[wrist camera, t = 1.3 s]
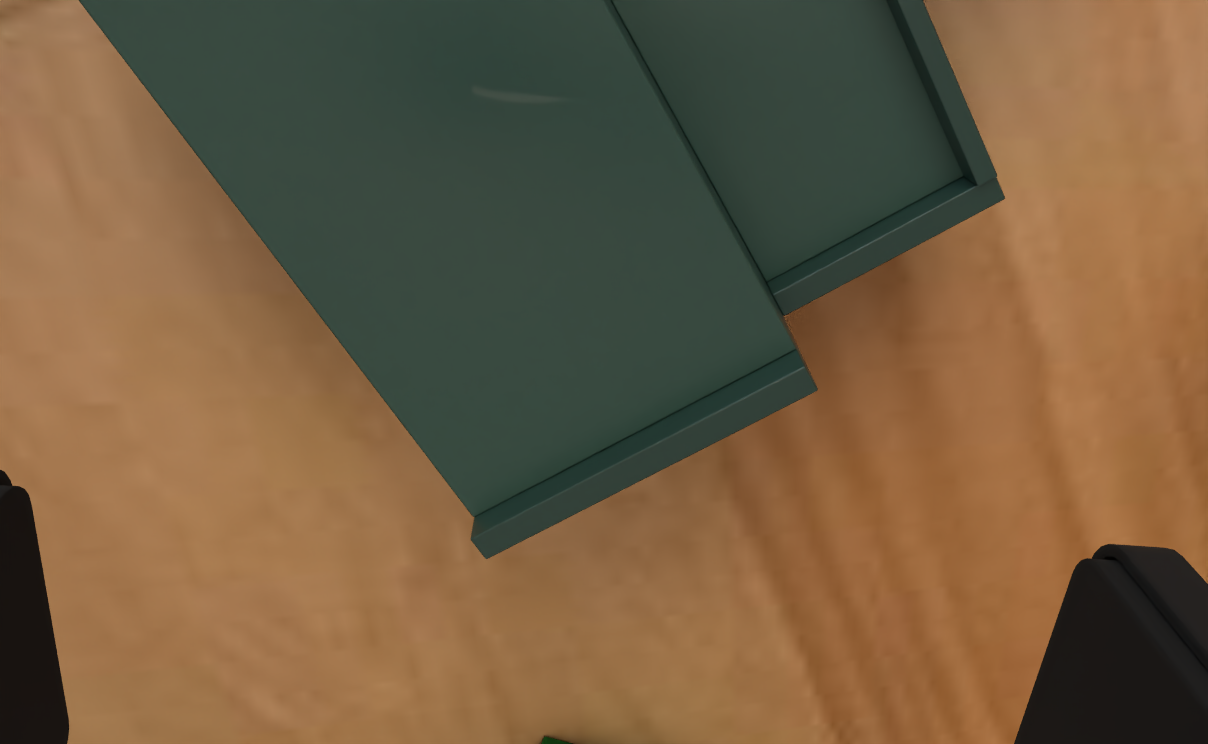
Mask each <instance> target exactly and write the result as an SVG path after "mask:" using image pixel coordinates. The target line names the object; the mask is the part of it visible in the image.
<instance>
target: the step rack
mask: <svg viewBox="0 0 1208 744" xmlns="http://www.w3.org/2000/svg"><path fill="white" fill-rule="evenodd" d="M79 1H80V3H81V4H82V5H83V7H84V8H85V9H86V10H87V12H88V13H89V14H90V16H91V17H92V18H93V20H94V21H95V22H96V24H97V25H98V26H99V28H100V29H101V30H102V31H103V33H104V34H105V35H106V37H107V38H108V39H109V41H110V42H111V43H112V45H113V46H114V47H115V48H116V50H117V51H118V52H119V54H120V55H121V56H122V58H123V59H124V60H125V62H126V63H127V64H128V65H129V67H130V68H131V69H132V71H133V72H134V73H135V75H136V76H137V77H138V79H139V80H140V81H141V83H142V84H143V85H144V86H145V88H146V89H147V90H148V92H149V93H150V94H151V96H152V97H153V98H154V100H155V101H156V102H157V103H158V105H159V106H160V107H161V109H162V110H163V111H164V113H165V114H166V115H167V117H168V118H169V119H170V121H171V122H172V123H173V124H174V126H175V127H176V128H177V130H178V131H179V132H180V134H181V135H182V136H183V138H184V139H185V140H186V141H187V143H188V144H189V145H190V147H191V148H192V149H193V151H194V152H195V153H196V155H197V156H198V157H199V158H200V160H201V161H202V162H203V164H204V165H205V166H206V168H207V169H208V170H209V172H210V173H211V174H212V176H213V177H214V178H215V179H216V181H217V182H218V183H219V185H220V186H221V187H222V189H223V190H224V191H225V193H226V194H227V195H228V196H229V198H230V199H231V200H232V202H233V203H234V204H235V206H236V207H237V208H238V210H239V211H240V212H241V213H242V215H243V216H244V217H245V219H246V220H247V221H248V223H249V224H250V225H251V227H252V228H253V229H254V231H255V232H256V233H257V234H258V236H259V237H260V238H261V240H262V241H263V242H264V244H265V245H266V246H267V248H268V249H269V250H270V251H271V253H272V254H273V255H274V257H275V258H276V259H277V261H278V262H279V263H280V265H281V266H282V267H283V269H284V270H285V271H286V272H287V274H288V275H289V276H290V278H291V279H292V280H293V282H294V283H295V284H296V286H297V287H298V288H299V289H300V291H301V292H302V293H303V295H304V296H305V297H306V299H307V300H308V301H309V303H310V304H311V305H312V306H313V308H314V309H315V310H316V312H317V313H318V314H319V316H320V317H321V318H322V320H323V321H324V322H325V324H326V325H327V326H328V327H329V329H330V330H331V331H332V333H333V334H334V335H335V337H336V338H337V339H338V341H339V342H340V343H341V344H342V346H343V347H344V348H345V350H346V351H347V352H348V354H349V355H350V356H351V358H352V359H353V360H354V362H355V363H356V364H357V365H358V367H359V368H360V369H361V371H362V372H363V373H364V375H365V376H366V377H367V379H368V380H369V381H370V382H371V384H372V385H373V386H374V388H375V389H376V390H377V392H378V393H379V394H380V396H381V397H382V398H383V399H384V401H385V402H386V403H387V405H388V406H389V407H390V409H391V410H392V411H393V413H394V414H395V415H396V417H397V418H398V419H399V420H400V422H401V423H402V424H403V426H404V427H405V428H406V430H407V431H408V432H409V434H410V435H411V436H412V437H413V439H414V440H415V441H416V443H417V444H418V445H419V447H420V448H421V449H422V451H423V452H424V453H425V454H426V456H427V457H428V458H429V460H430V461H431V462H432V464H433V465H434V466H435V468H436V469H437V470H438V472H439V473H440V474H441V475H442V477H443V478H444V479H445V481H446V482H447V483H448V485H449V486H450V487H451V489H452V490H453V491H454V492H455V494H456V495H457V496H458V498H459V499H460V500H461V502H462V503H463V504H464V506H465V507H466V508H467V510H468V511H469V512H470V513H471V515H472V516H473V517H474V522H473V528H472V533H471V541H472V542H473V543H474V544H475V546H476V547H477V548H478V550H479V551H480V552H481V553H482V555H483V556H484V557H485V558H486V559H488V558H490V557H492V556H494V555H496V554H498V553H500V552H502V551H504V550H506V549H508V548H510V547H511V546H513V545H515V544H517V543H519V542H521V541H523V540H525V539H527V538H529V537H531V536H533V535H535V534H537V533H539V532H541V531H543V530H545V529H547V528H549V527H551V526H553V525H555V524H557V523H559V522H561V521H562V520H564V519H566V518H568V517H570V516H572V515H574V514H576V513H578V512H580V511H582V510H584V509H586V508H588V507H590V506H592V505H594V504H596V503H598V502H600V501H602V500H604V499H606V498H608V497H610V496H612V495H613V494H615V493H617V492H619V491H621V490H623V489H625V488H627V487H629V486H631V485H633V484H635V483H637V482H639V481H641V480H643V479H645V478H647V477H649V476H651V475H653V474H655V473H657V472H659V471H661V470H662V469H664V468H666V467H668V466H670V465H672V464H674V463H676V462H678V461H680V460H682V459H684V458H686V457H688V456H690V455H692V454H694V453H696V452H698V451H700V450H702V449H704V448H706V447H708V446H710V445H712V444H713V443H715V442H717V441H719V440H721V439H723V438H725V437H727V436H729V435H731V434H733V433H735V432H737V431H739V430H741V429H743V428H745V427H747V426H749V425H751V424H753V423H755V422H757V421H759V420H761V419H763V418H764V417H766V416H768V415H770V414H772V413H774V412H776V411H778V410H780V409H782V408H784V407H786V406H788V405H790V404H792V403H794V402H796V401H798V400H800V399H802V398H804V397H806V396H808V395H810V394H812V393H814V392H815V391H817V390H818V388H817V386H816V384H815V382H814V380H813V378H812V375H811V373H810V371H809V369H808V367H807V365H806V363H805V361H804V359H803V356H802V354H801V352H800V350H799V348H798V346H797V344H796V342H795V340H794V337H793V335H792V333H791V331H790V329H789V327H788V325H787V323H786V321H785V319H784V316H783V315H787V314H789V313H791V312H792V311H794V310H796V309H798V308H800V307H802V306H804V305H806V304H808V303H809V302H811V301H813V300H815V299H817V298H819V297H821V296H823V295H825V294H826V293H828V292H830V291H832V290H834V289H836V288H838V287H840V286H841V285H843V284H845V283H847V282H849V281H851V280H853V279H855V278H857V277H858V276H860V275H862V274H864V273H866V272H868V271H870V270H872V269H874V268H875V267H877V266H879V265H881V264H883V263H885V262H887V261H889V260H891V259H892V258H894V257H896V256H898V255H900V254H902V253H904V252H906V251H908V250H909V249H911V248H913V247H915V246H917V245H919V244H921V243H923V242H925V241H926V240H928V239H930V238H932V237H934V236H936V235H938V234H940V233H941V232H943V231H945V230H947V229H949V228H951V227H953V226H955V225H957V224H958V223H960V222H962V221H964V220H966V219H968V218H970V217H972V216H974V215H975V214H977V213H979V212H981V211H983V210H985V209H987V208H989V207H991V206H992V205H994V204H996V203H998V202H1000V201H1002V200H1004V199H1005V196H1004V194H1003V192H1002V189H1001V187H1000V185H999V182H998V180H997V178H996V177H997V173H996V171H995V169H994V166H993V164H992V162H991V159H990V157H989V155H988V152H987V150H986V148H985V145H984V143H983V140H982V138H981V136H980V133H979V131H978V129H977V126H976V124H975V122H974V119H973V117H972V115H971V112H970V110H969V108H968V105H967V103H966V101H965V98H964V96H963V94H962V91H961V89H960V86H959V84H958V82H957V79H956V77H955V75H954V72H953V70H952V68H951V65H950V63H949V61H948V58H947V56H946V54H945V51H944V49H943V47H942V44H941V42H940V40H939V37H938V35H937V32H936V30H935V28H934V25H933V23H932V21H931V18H930V16H929V14H928V11H927V9H926V7H925V4H924V2H923V0H79Z"/></svg>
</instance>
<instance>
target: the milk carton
mask: <svg viewBox="0 0 1208 744" xmlns="http://www.w3.org/2000/svg"><path fill="white" fill-rule="evenodd" d="M541 744H572V743H568V742H564V741H561V740H557V739H553V738H549V737H544V738H543V740H542V743H541Z"/></svg>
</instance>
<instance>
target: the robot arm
mask: <svg viewBox="0 0 1208 744" xmlns="http://www.w3.org/2000/svg"><path fill="white" fill-rule="evenodd" d="M68 734H69V719H68V713H67V707H66V701H65V696H64V690H63V684H62V678H61V673H60V667H59V661H58V655H57V649H56V644H55V638H54V632H53V626H52V620H51V615H50V609H49V603H48V597H47V591H46V586H45V580H44V574H43V568H42V563H41V557H40V551H39V545H38V539H37V534H36V528H35V522H34V516H33V510H32V505H31V501H30V497H29V495H28V493H27V492H26V490H25V489H23V488H22V487H20V486H12V484H11V480H10V479H9V477H8V476H7V474H6V473H5V472H4V471H2V470H0V744H67V741H68ZM1014 744H1208V584H1207V583H1206V582H1205V581H1204V579H1203V578H1202V577H1201V576H1200V575H1199V574H1198V573H1197V572H1196V571H1195V570H1194V568H1193V567H1192V566H1191V565H1190V564H1189V563H1188V562H1187V561H1186V560H1185V559H1184V557H1183V556H1181V555H1180V554H1179V553H1178V552H1176V551H1175V550H1172V549H1168V548H1159V547H1145V546H1130V545H1116V544H1107V545H1104V546H1102V547H1100V548H1099V549H1098V550H1097V551H1096V552H1095V553H1094V555H1093V557H1092V559H1088V558H1087V559H1084V560H1081V561H1080V562H1079V563H1078V564H1077V565H1076V567H1075V569H1074V571H1073V574H1072V576H1071V579H1070V582H1069V585H1068V588H1067V591H1066V594H1065V597H1064V600H1063V603H1062V606H1061V609H1060V611H1059V614H1058V617H1057V620H1056V623H1055V626H1054V629H1053V632H1052V635H1051V638H1050V641H1049V644H1048V646H1047V649H1046V652H1045V655H1044V658H1043V661H1042V664H1041V667H1040V670H1039V673H1038V676H1037V679H1036V681H1035V684H1034V687H1033V690H1032V693H1031V696H1030V699H1029V702H1028V705H1027V708H1026V711H1025V714H1024V716H1023V719H1022V722H1021V725H1020V728H1019V731H1018V734H1017V737H1016V740H1015V743H1014Z"/></svg>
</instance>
